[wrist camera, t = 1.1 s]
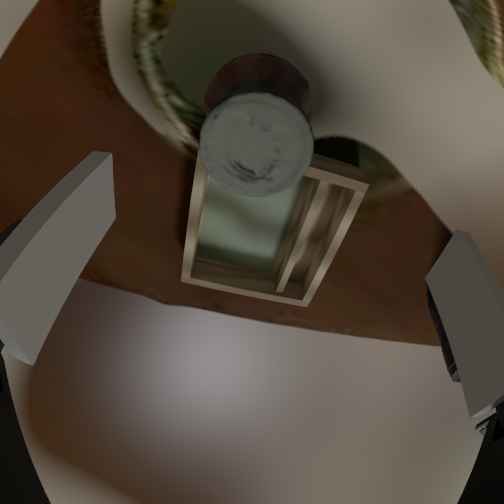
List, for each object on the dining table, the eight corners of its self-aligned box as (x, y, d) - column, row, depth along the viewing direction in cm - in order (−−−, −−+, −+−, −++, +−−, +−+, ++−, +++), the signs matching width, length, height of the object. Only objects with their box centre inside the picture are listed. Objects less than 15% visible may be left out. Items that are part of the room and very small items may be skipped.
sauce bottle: (249, 122, 28) (217, 254, 13) (214, 70, 25) (120, 136, 10) (309, 91, 26) (365, 190, 11) (276, 36, 23) (283, 31, 7)
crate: (208, 127, 29) (199, 140, 26) (359, 167, 30) (369, 184, 27) (187, 260, 40) (181, 281, 37) (305, 284, 42) (306, 307, 39)
